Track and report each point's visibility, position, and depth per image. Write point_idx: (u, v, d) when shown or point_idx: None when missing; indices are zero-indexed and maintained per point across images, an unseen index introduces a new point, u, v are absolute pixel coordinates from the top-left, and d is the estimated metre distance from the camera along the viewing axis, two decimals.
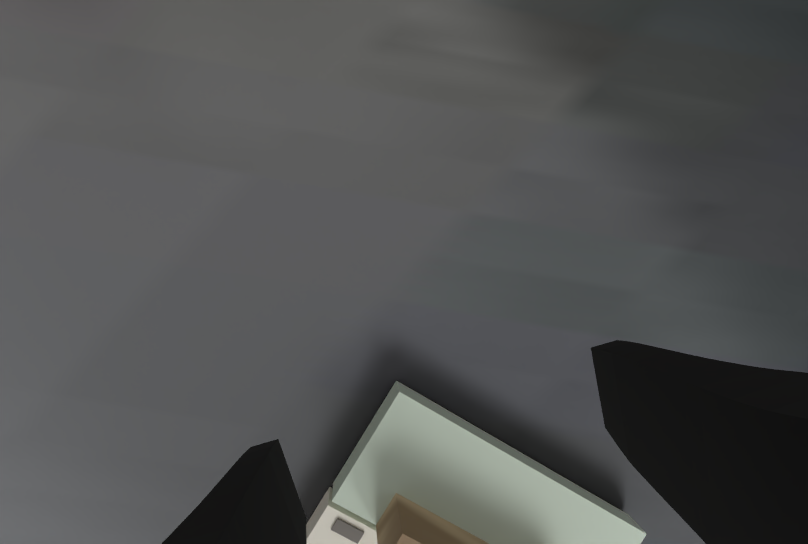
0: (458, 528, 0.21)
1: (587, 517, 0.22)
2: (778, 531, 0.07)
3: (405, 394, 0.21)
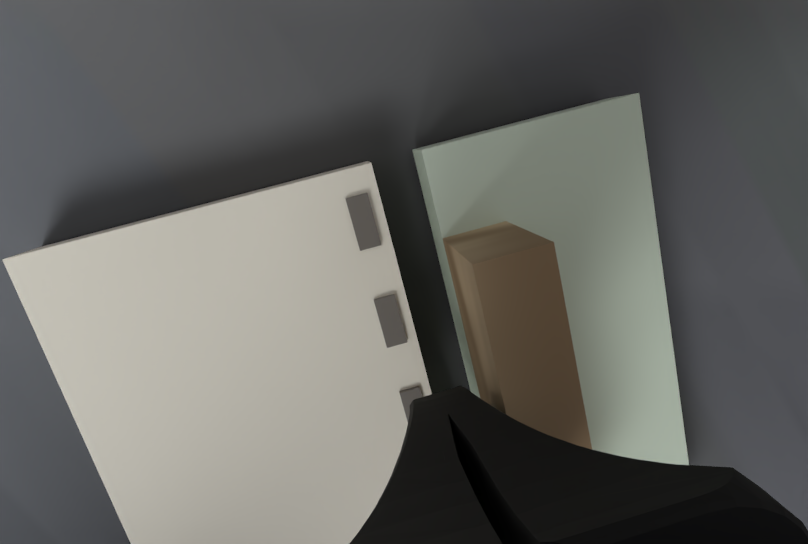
0: None
1: (665, 462, 0.14)
2: None
3: (637, 106, 0.12)
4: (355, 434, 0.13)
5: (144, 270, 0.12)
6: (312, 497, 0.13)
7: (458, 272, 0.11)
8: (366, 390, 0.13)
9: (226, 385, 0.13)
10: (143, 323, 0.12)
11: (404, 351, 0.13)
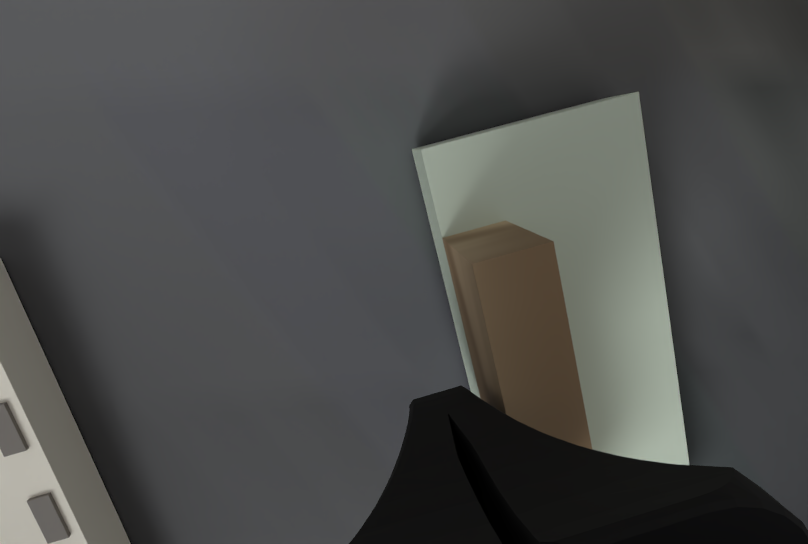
0: None
1: (666, 461, 0.14)
2: None
3: (637, 105, 0.12)
4: None
5: None
6: None
7: (458, 272, 0.11)
8: None
9: None
10: None
11: (27, 458, 0.12)
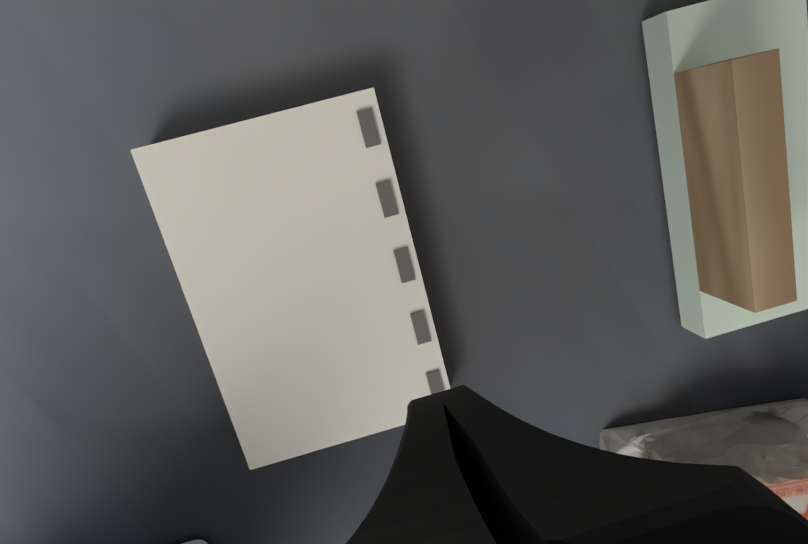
0: None
1: (805, 244, 0.21)
2: None
3: None
4: (363, 281, 0.19)
5: (222, 159, 0.18)
6: (332, 327, 0.19)
7: (696, 86, 0.18)
8: (370, 249, 0.19)
9: (275, 242, 0.18)
10: (220, 196, 0.18)
11: (396, 221, 0.19)
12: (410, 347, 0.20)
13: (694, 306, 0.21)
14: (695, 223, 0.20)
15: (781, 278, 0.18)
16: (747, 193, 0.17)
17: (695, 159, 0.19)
